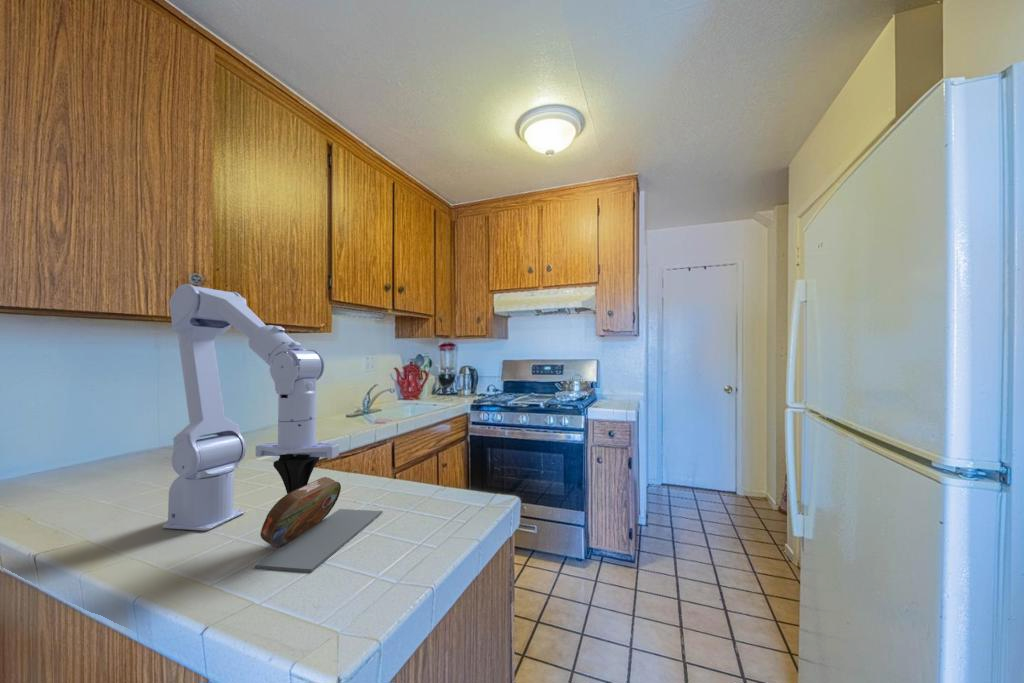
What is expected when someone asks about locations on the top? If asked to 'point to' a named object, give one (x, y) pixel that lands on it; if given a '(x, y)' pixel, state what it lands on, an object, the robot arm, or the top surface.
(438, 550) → the top surface
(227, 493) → the robot arm
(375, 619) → the top surface
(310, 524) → the tin
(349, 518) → the rubber mat
